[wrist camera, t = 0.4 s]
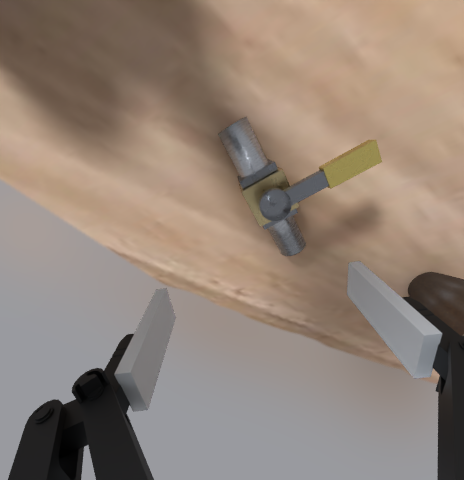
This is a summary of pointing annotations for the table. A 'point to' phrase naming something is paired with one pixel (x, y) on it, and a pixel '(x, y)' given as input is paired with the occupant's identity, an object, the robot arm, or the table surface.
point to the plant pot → (441, 297)
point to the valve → (261, 183)
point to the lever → (320, 180)
